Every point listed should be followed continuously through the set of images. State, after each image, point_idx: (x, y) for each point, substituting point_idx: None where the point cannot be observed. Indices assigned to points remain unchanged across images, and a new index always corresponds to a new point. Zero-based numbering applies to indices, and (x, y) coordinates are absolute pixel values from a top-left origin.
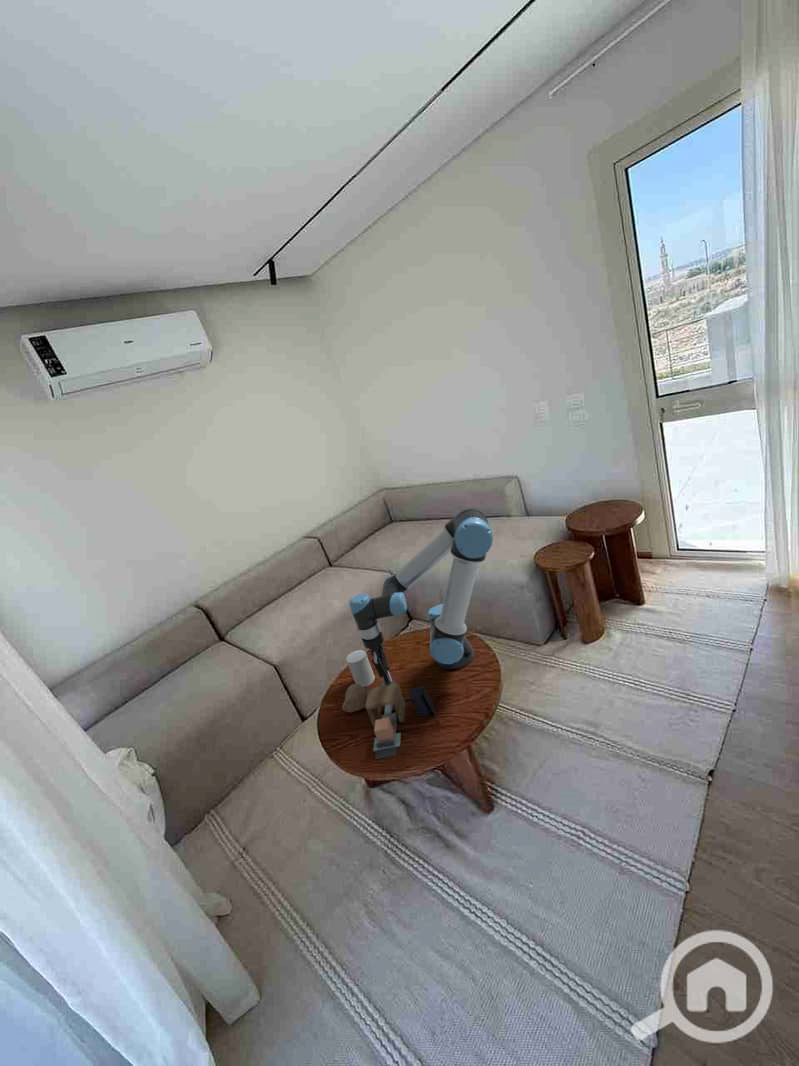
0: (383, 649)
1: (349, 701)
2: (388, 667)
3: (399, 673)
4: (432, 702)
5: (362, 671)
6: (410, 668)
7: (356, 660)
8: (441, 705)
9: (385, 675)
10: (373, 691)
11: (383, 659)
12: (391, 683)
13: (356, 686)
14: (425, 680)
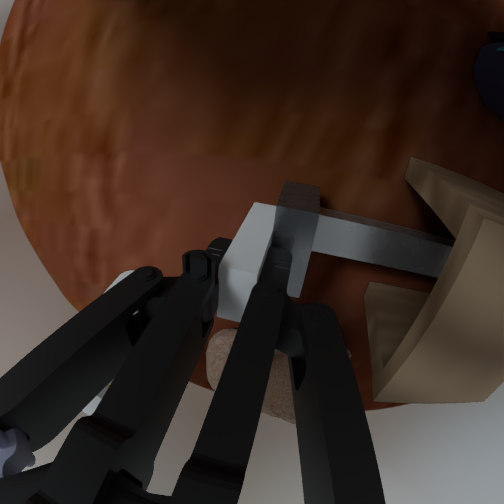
0: (21, 372)
1: None
2: (186, 266)
3: (136, 155)
4: (502, 33)
5: None
6: (118, 95)
7: None
8: (491, 7)
9: (334, 323)
10: (419, 383)
11: (161, 389)
12: (305, 230)
13: (272, 411)
14: (258, 5)
